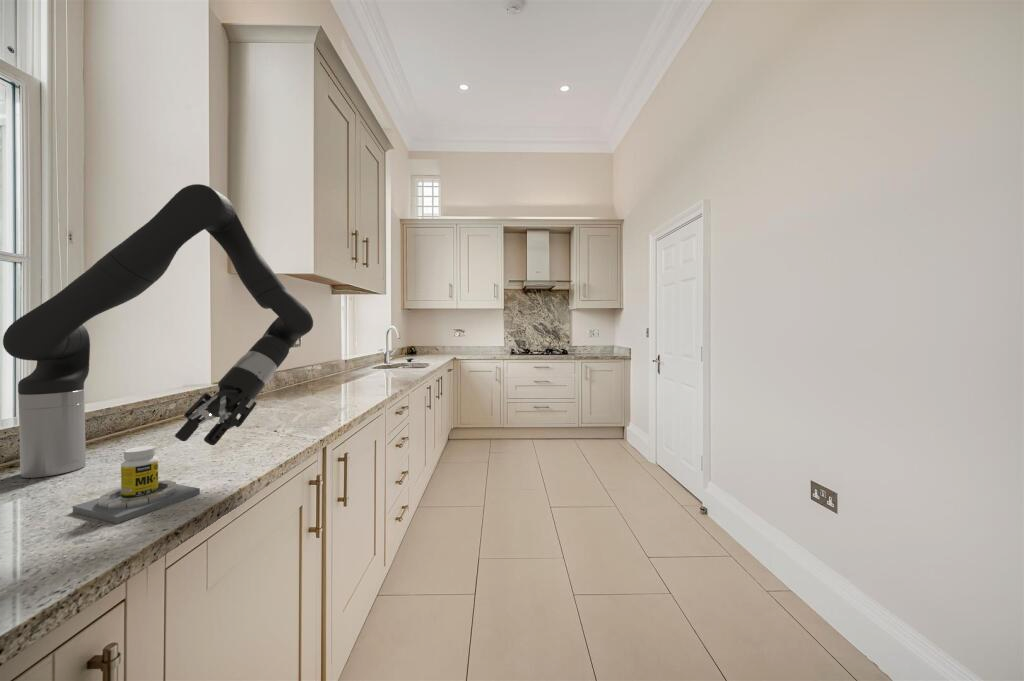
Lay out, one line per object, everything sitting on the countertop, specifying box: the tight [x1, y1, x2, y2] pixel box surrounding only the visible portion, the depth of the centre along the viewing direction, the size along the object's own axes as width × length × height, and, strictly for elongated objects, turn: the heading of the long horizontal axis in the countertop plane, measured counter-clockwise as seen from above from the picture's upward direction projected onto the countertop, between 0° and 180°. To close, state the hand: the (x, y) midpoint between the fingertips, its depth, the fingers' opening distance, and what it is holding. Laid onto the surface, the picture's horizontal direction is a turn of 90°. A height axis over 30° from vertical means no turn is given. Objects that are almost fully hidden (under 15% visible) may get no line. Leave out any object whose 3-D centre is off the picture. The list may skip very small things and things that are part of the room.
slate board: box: [72, 483, 201, 524], centre depth 69 cm, size 12×12×1 cm
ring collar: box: [98, 479, 177, 510], centre depth 69 cm, size 10×10×1 cm
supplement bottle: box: [120, 445, 159, 500], centre depth 69 cm, size 5×5×8 cm
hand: (193, 441), depth 77 cm, fingers open, 8 cm apart
